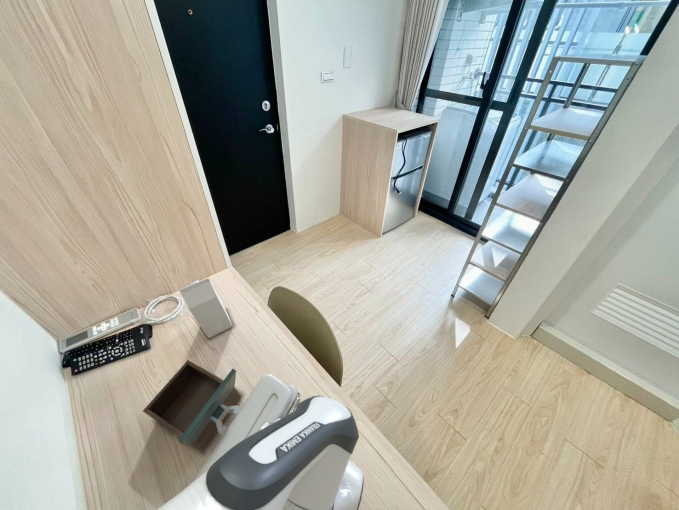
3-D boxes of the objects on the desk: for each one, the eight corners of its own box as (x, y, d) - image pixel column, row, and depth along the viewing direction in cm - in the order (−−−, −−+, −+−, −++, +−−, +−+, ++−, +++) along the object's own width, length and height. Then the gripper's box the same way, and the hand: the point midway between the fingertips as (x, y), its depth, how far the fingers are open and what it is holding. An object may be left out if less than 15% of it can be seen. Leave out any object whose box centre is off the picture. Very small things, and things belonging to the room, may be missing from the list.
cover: (178, 440, 42) (182, 443, 42) (232, 368, 50) (236, 370, 50) (188, 443, 54) (192, 445, 54) (231, 384, 62) (234, 386, 62)
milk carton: (232, 326, 81) (212, 286, 68) (208, 338, 78) (182, 299, 65) (225, 310, 85) (204, 269, 72) (202, 321, 83) (176, 281, 69)
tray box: (157, 419, 63) (142, 411, 59) (197, 371, 72) (187, 359, 67) (203, 452, 59) (191, 445, 54) (241, 396, 67) (233, 386, 62)
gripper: (303, 386, 52) (246, 357, 57) (231, 519, 39) (164, 468, 43) (306, 397, 57) (253, 369, 61) (242, 520, 43) (180, 474, 48)
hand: (215, 411), depth 52 cm, fingers closed
